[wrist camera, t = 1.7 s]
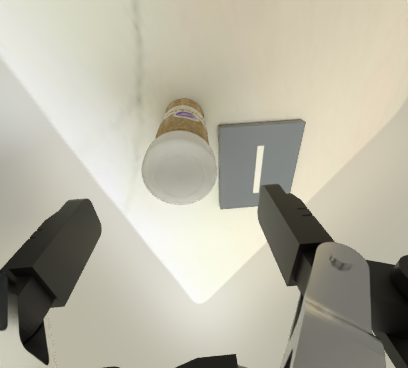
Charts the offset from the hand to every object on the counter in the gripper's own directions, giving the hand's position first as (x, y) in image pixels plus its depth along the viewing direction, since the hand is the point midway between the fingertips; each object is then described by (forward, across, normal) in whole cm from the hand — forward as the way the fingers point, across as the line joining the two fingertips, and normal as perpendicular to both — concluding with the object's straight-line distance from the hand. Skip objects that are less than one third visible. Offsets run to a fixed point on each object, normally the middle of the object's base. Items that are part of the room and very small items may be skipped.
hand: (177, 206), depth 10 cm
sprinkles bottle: (+16, 0, 0) cm, 16 cm away
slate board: (+16, -9, +7) cm, 20 cm away
